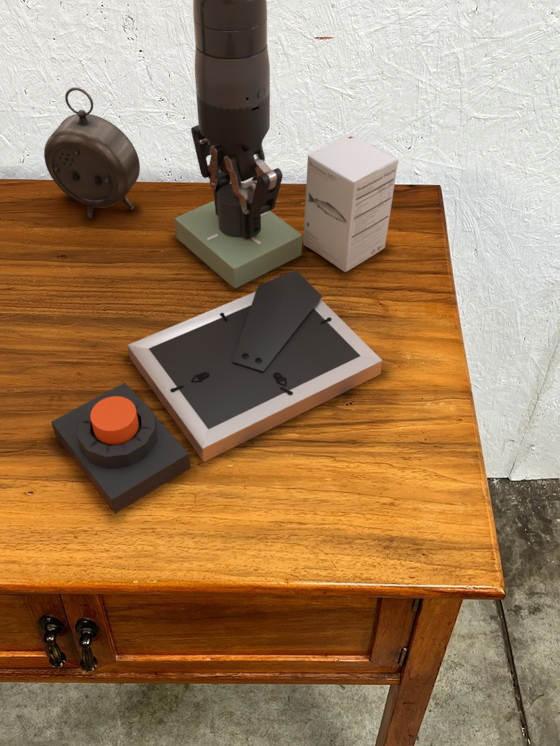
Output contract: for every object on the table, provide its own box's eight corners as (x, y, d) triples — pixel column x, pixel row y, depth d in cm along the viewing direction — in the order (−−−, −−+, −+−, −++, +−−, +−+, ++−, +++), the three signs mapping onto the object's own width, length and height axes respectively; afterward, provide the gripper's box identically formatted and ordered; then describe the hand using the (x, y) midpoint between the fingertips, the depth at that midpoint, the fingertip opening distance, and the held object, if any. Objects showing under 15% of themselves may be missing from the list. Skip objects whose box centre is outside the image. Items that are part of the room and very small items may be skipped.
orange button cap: (85, 424, 70) (81, 410, 69) (124, 403, 72) (121, 389, 70) (108, 452, 68) (104, 438, 67) (147, 430, 70) (144, 416, 68)
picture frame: (295, 288, 89) (130, 358, 81) (296, 269, 86) (126, 339, 79) (380, 374, 80) (203, 462, 72) (383, 355, 78) (201, 443, 70)
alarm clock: (147, 204, 99) (130, 84, 87) (129, 229, 96) (109, 107, 84) (70, 189, 101) (44, 69, 89) (49, 212, 98) (19, 91, 86)
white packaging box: (300, 245, 94) (304, 153, 85) (343, 221, 97) (352, 130, 88) (344, 275, 90) (353, 182, 81) (387, 249, 94) (400, 156, 84)
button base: (55, 436, 74) (46, 409, 71) (128, 396, 77) (122, 369, 74) (115, 513, 68) (108, 488, 65) (190, 467, 72) (187, 441, 69)
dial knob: (211, 224, 92) (209, 189, 88) (241, 210, 94) (240, 176, 90) (233, 242, 89) (232, 207, 86) (263, 227, 91) (263, 193, 88)
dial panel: (176, 238, 95) (173, 216, 92) (241, 208, 99) (241, 187, 97) (234, 289, 88) (233, 267, 86) (301, 255, 93) (302, 233, 90)
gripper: (163, 71, 81) (177, 208, 93) (245, 127, 73) (249, 268, 86) (221, 51, 84) (227, 186, 97) (306, 103, 77) (301, 242, 89)
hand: (237, 224), depth 91 cm, fingers closed on dial knob, 4 cm apart
